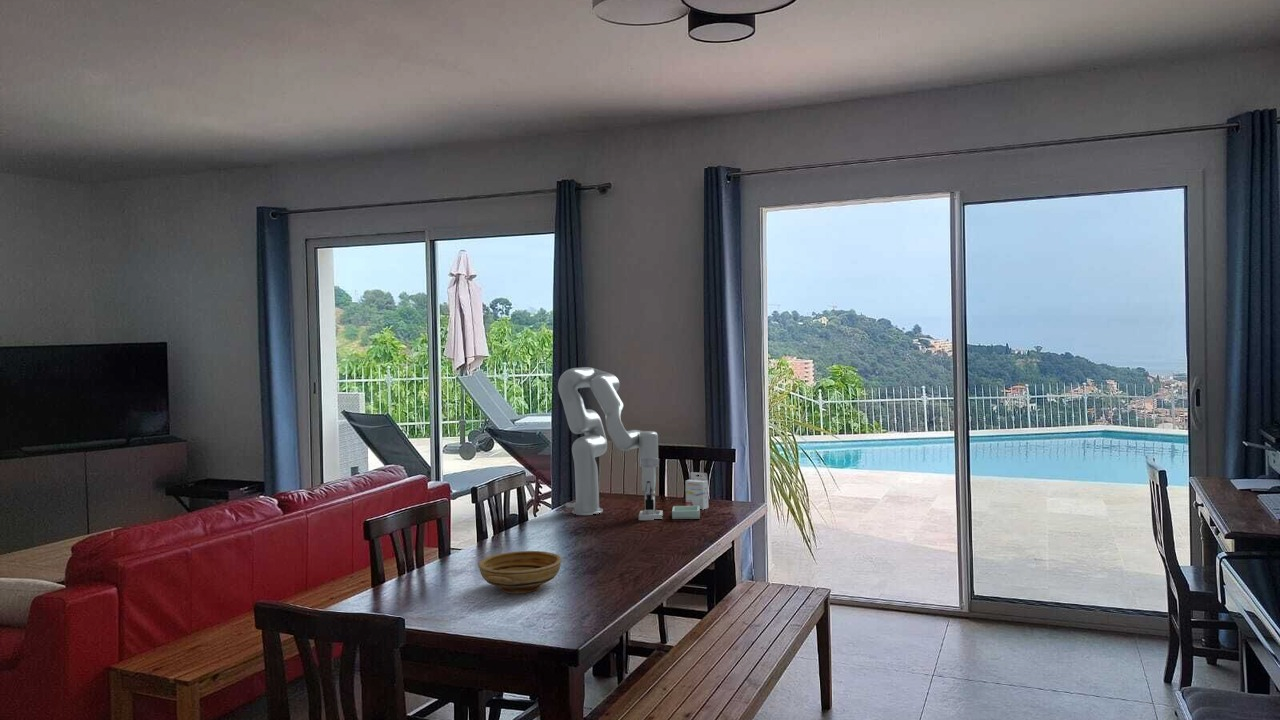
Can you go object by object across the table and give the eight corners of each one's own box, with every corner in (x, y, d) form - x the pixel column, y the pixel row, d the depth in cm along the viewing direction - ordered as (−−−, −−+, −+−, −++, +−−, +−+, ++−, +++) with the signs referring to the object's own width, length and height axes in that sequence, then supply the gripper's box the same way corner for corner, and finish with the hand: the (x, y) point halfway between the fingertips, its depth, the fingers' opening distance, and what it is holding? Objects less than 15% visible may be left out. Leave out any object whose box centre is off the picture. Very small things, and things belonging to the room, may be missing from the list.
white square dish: (638, 520, 346) (638, 515, 346) (640, 515, 355) (640, 510, 355) (661, 520, 345) (661, 514, 345) (662, 515, 354) (662, 510, 354)
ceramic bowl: (509, 572, 274) (508, 546, 274) (580, 577, 265) (579, 550, 265) (457, 599, 246) (456, 571, 246) (534, 606, 238) (533, 576, 238)
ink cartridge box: (685, 508, 367) (684, 473, 366) (691, 506, 371) (690, 471, 370) (703, 510, 362) (702, 474, 362) (709, 508, 366) (708, 472, 366)
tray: (672, 520, 344) (672, 511, 344) (673, 514, 355) (673, 506, 354) (699, 519, 343) (699, 510, 343) (699, 514, 354) (699, 505, 354)
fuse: (644, 517, 348) (643, 492, 348) (645, 515, 353) (644, 490, 352) (655, 517, 348) (654, 492, 347) (656, 515, 352) (655, 490, 352)
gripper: (641, 459, 358) (642, 504, 359) (637, 465, 342) (638, 512, 342) (659, 459, 358) (660, 504, 358) (657, 465, 341) (658, 512, 341)
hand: (650, 508), depth 350 cm, fingers closed on fuse, 4 cm apart
